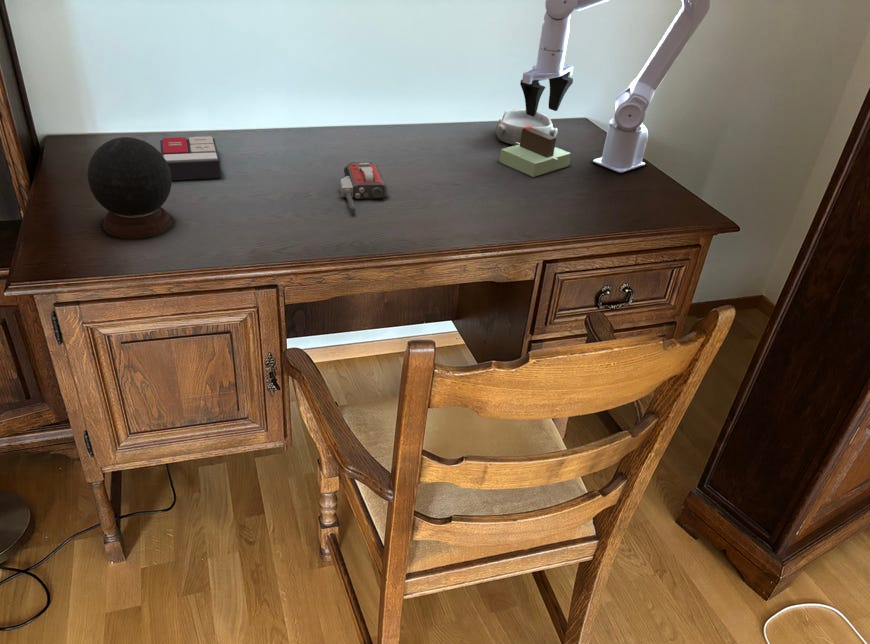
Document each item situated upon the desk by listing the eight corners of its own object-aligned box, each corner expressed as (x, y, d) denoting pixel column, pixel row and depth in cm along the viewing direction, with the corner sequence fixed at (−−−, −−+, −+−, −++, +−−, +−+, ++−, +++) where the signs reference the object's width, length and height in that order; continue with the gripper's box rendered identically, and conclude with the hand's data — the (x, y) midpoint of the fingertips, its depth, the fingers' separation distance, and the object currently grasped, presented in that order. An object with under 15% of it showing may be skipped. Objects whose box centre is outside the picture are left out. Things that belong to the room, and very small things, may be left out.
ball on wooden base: (100, 245, 123) (83, 157, 114) (94, 212, 132) (77, 128, 123) (183, 235, 127) (172, 150, 119) (170, 204, 137) (160, 123, 128)
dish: (496, 146, 173) (499, 125, 170) (491, 127, 185) (493, 106, 182) (557, 150, 174) (561, 129, 171) (548, 130, 185) (552, 110, 182)
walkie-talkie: (334, 174, 153) (347, 216, 138) (334, 154, 151) (347, 194, 135) (376, 174, 155) (393, 215, 139) (377, 153, 153) (395, 193, 137)
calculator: (214, 134, 157) (219, 156, 145) (215, 154, 160) (221, 178, 148) (159, 136, 154) (160, 159, 142) (162, 156, 157) (163, 180, 145)
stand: (531, 150, 173) (533, 137, 171) (572, 167, 166) (575, 153, 164) (495, 160, 166) (497, 146, 164) (536, 179, 159) (538, 164, 157)
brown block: (553, 155, 163) (556, 136, 160) (546, 157, 161) (550, 138, 159) (526, 144, 167) (529, 125, 165) (519, 146, 166) (522, 127, 163)
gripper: (559, 40, 165) (549, 102, 173) (515, 47, 157) (506, 112, 164) (585, 47, 161) (573, 111, 169) (541, 55, 152) (530, 121, 160)
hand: (541, 112), depth 166 cm, fingers open, 7 cm apart
